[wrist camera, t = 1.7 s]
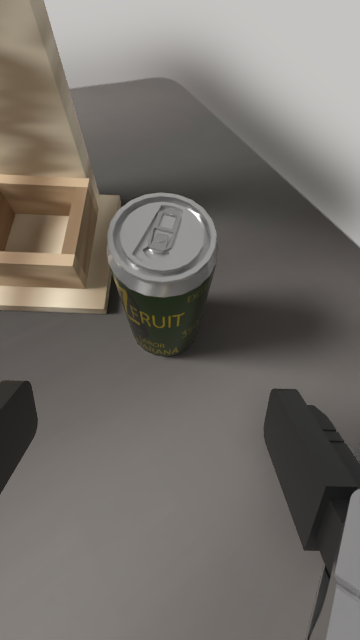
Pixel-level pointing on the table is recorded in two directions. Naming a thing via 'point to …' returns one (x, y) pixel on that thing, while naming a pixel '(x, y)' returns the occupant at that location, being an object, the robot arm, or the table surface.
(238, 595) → the table surface
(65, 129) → the wooden dispenser stand
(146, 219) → the green metal cylinder
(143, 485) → the table surface
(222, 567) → the table surface
